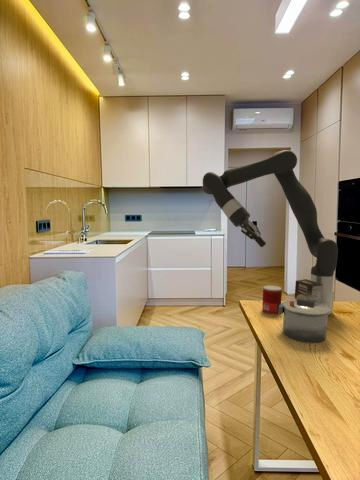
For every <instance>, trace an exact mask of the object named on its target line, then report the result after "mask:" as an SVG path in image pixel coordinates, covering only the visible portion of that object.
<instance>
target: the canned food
mask: <svg viewBox="0 0 360 480" xmlns="http://www.w3.org/2000/svg"><path fill="white" fill-rule="evenodd" d="M282 290H283V289H282V287H281V286H277V285H270V284H269V285H264V286H263V287H262V306H261V307H262V309H261V310H262V311H263V312H264V313H266V314H268V313H269V314H268V315H277V314H278V315H279V314H280V313H278V306H279V305H281V304H282V294H283V293H282Z"/></svg>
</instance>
